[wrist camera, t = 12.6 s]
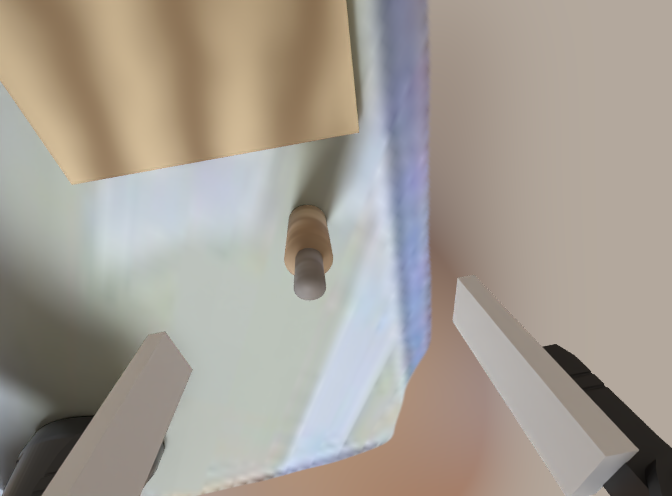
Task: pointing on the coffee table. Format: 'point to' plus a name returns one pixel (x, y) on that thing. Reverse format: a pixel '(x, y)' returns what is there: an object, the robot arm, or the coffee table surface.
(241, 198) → the coffee table surface
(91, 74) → the board
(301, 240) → the brown bottle
